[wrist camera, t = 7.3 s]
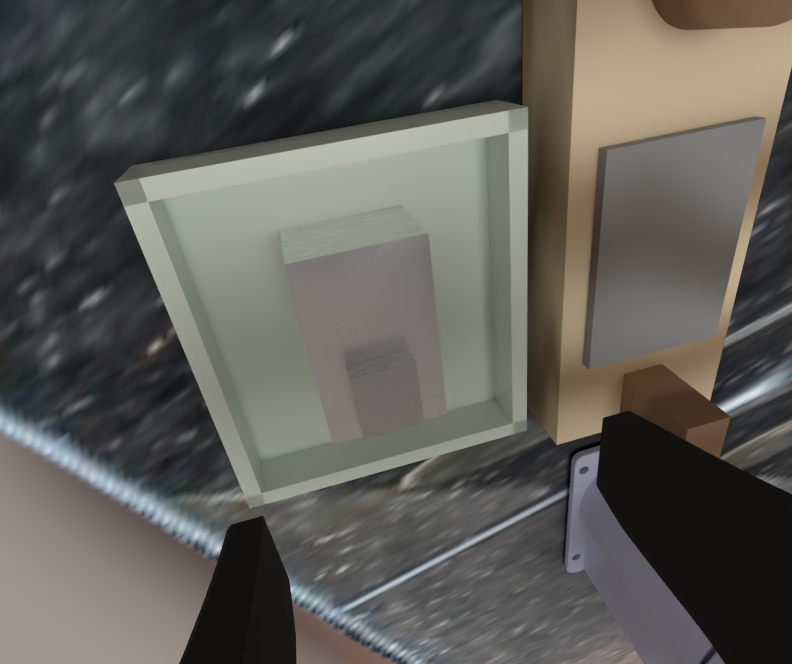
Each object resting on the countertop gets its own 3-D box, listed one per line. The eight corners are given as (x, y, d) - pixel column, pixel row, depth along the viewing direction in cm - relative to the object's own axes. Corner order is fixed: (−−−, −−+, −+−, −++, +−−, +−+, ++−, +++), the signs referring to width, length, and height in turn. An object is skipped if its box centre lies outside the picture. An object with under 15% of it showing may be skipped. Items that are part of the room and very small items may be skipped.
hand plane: (661, 362, 24) (779, 454, 18) (522, 400, 23) (605, 508, 17) (749, -152, 14) (1039, -268, 9) (522, -127, 13) (699, -240, 8)
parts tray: (503, 398, 22) (526, 430, 21) (250, 467, 21) (249, 508, 19) (496, 99, 16) (528, 106, 14) (131, 165, 15) (114, 182, 13)
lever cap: (422, 366, 20) (455, 428, 17) (321, 392, 19) (336, 461, 16) (401, 204, 16) (437, 242, 13) (279, 230, 16) (286, 276, 13)
